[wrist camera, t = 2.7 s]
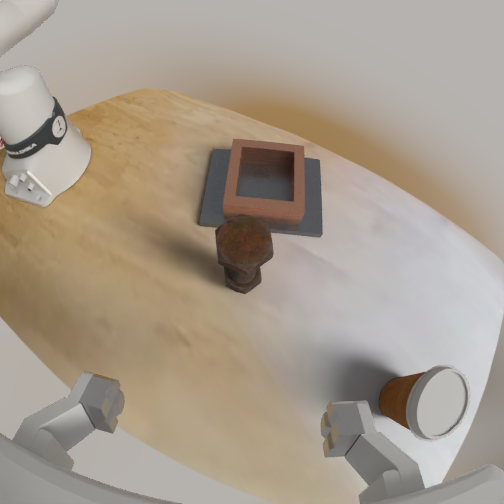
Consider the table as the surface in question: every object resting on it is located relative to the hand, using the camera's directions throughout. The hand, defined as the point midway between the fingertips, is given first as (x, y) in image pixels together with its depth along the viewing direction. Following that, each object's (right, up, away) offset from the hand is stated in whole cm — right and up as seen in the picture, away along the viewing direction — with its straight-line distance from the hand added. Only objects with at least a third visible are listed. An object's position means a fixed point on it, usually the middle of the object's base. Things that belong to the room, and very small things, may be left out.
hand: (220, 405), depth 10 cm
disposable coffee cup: (+22, -16, +26) cm, 37 cm away
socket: (+3, +15, +36) cm, 39 cm away
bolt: (0, +1, +31) cm, 31 cm away
